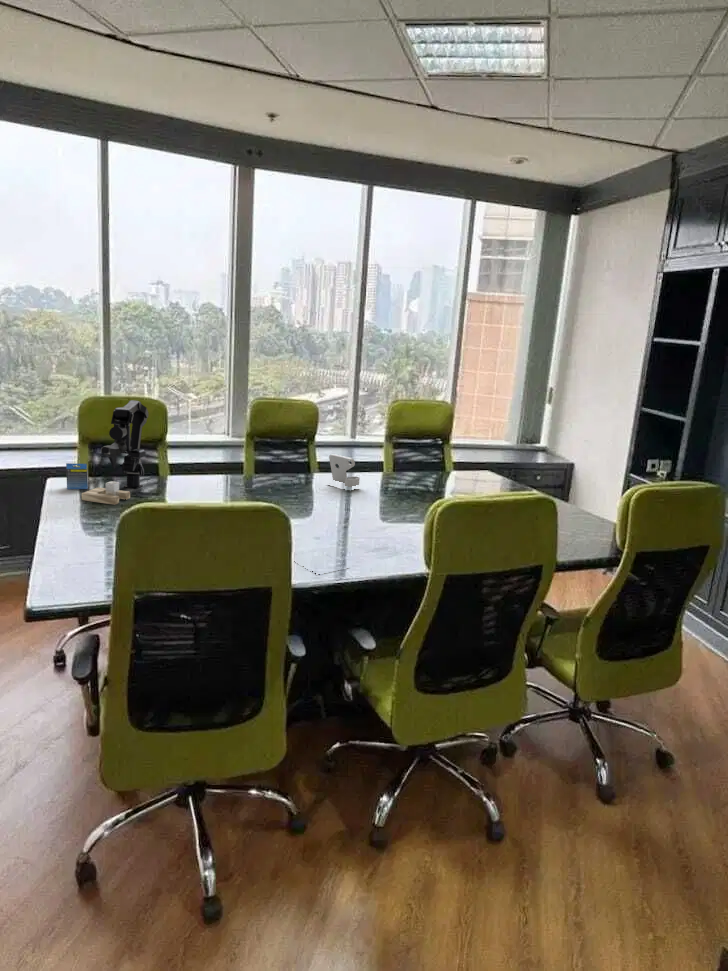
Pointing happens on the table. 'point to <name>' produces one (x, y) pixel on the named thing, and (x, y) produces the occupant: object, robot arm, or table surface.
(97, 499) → the notched board
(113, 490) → the grey peg
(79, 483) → the label tape cartridge
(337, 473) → the phone holder
